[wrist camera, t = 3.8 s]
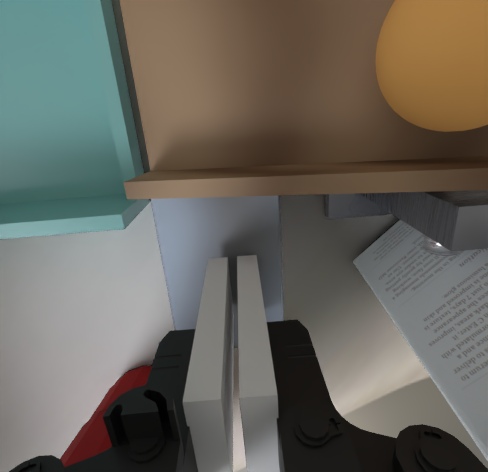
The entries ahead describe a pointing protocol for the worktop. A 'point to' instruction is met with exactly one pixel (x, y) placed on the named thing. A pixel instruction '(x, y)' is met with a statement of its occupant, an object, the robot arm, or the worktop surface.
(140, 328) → the worktop surface
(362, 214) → the stand
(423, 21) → the ball
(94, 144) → the tray
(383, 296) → the small box
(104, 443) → the plastic cup
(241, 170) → the lever
